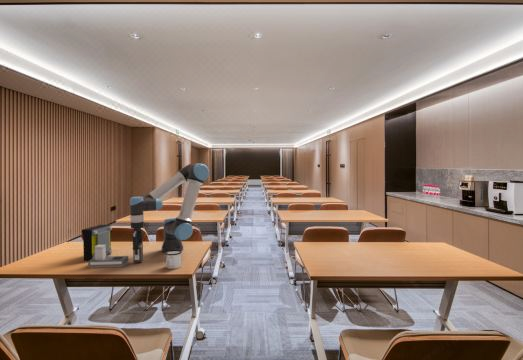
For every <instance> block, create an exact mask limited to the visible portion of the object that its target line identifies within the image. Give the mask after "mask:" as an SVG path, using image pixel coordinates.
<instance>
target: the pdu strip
mask: <svg viewBox="0 0 523 360" xmlns="http://www.w3.org/2000/svg"><path fill="white" fill-rule="evenodd" d="M129 259H130V258H129V255H115V256H113V255H111V256H109V255H107V256H106V258H105V259H104V260H95V257H94V258H92V259H91V260H89V261H87V262H88V263H87V265H88V268H89V269H90V268H91V269H94V268H121V267H125V266H126V265H127V264H128V263H129Z"/></svg>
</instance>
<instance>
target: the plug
mask: <svg viewBox="0 0 523 360" xmlns="http://www.w3.org/2000/svg"><path fill="white" fill-rule="evenodd" d="M143 247H144V245H143V243H139V260H135V258H134V250H133V249H132V251H133V254H132V256H133V257H132V259H133V261H132V262H133V263H142V262H143V260H144V248H143Z"/></svg>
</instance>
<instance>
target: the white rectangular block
mask: <svg viewBox="0 0 523 360" xmlns="http://www.w3.org/2000/svg"><path fill="white" fill-rule="evenodd" d="M105 258H106V245H97V246H95V260H104V259H105Z"/></svg>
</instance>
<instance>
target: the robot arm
mask: <svg viewBox="0 0 523 360" xmlns="http://www.w3.org/2000/svg"><path fill="white" fill-rule="evenodd" d="M209 176H210V170H209V167H208V166H207V165H206V164H205V163H199V162H198V163H189V164H187V165H185V166H184V167H182V168H181V169H179V170H178V171H177V172H176V174H175V175H173V176H172V177H171V178H169V179H167V180H166V181H165V182H163V183H162V184H161V185H159V186H157V188H155V189H154V190H152V191H151V192H149V193H148V194H146V195H145V196H132V197H130V199H129V210H130V216H129V218H130V229H132V230H133V232H132V234H131V237H132V251H133V250H134V258H135V260H139V243H143V242H144V241H143V228H144V227H145V226H144V225H145V224H144V223H145V222H144V219H145V217H144V212H150V211H160V210H162V209H163V200H162V198H164V197H165V196H167V195H168V194H169V193H171V192H172V191H174V190H175V189H176V188H178V187H179V186H180V185H181V184H183V183H184V184H185V183H187V182H188V183H187V187H186V191H185V194H184V198H183V199H182V200H183V201H182V204H181V207H180V211H179V214H178V216H176V217H174V218H165V219H164V220H163V242H162V245H161V252H162V253H165V252H167V251H170V250H180V251H184V245H183V242H182V241H185V240H188V239H190V237H191V236H192V235H193V232H194V229H193V226H192V225H193V220H192V217H193V213H194V209H195V205H196V203H197V201H198V200H197V199H198V196H199V193H200V189H201V186H203V185H204V184H205V180H207V179H208V178H209Z"/></svg>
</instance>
